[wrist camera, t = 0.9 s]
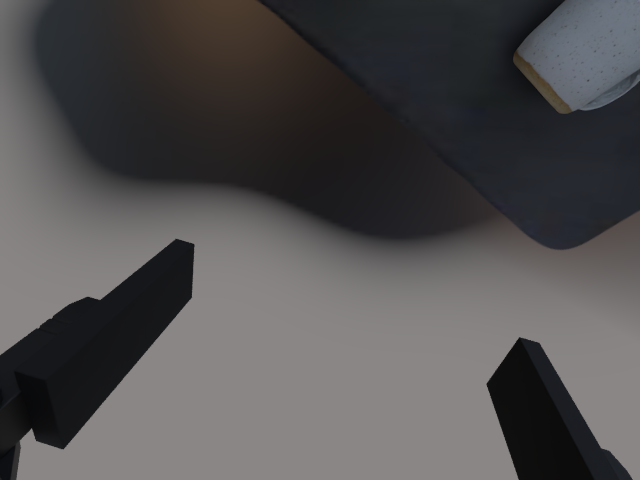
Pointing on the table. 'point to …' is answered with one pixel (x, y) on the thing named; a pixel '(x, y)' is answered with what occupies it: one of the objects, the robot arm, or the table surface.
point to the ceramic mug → (584, 53)
